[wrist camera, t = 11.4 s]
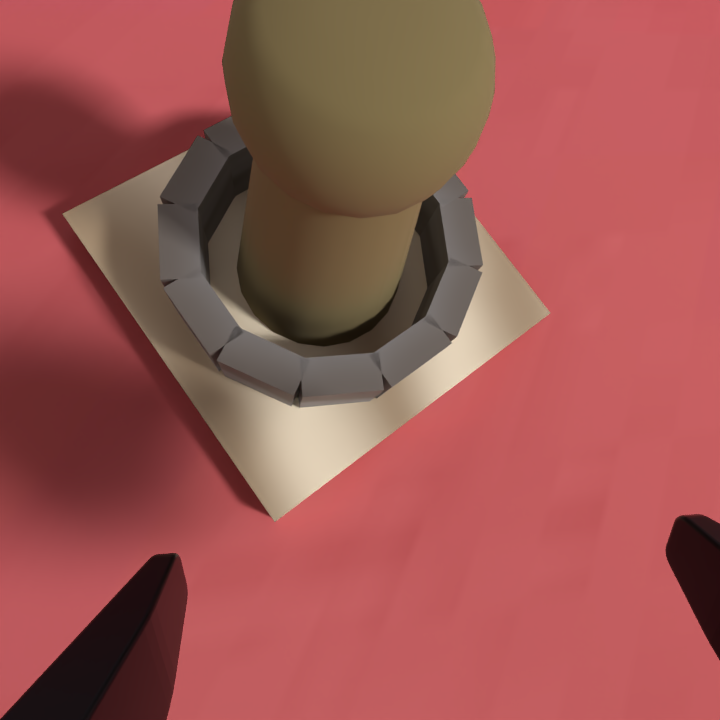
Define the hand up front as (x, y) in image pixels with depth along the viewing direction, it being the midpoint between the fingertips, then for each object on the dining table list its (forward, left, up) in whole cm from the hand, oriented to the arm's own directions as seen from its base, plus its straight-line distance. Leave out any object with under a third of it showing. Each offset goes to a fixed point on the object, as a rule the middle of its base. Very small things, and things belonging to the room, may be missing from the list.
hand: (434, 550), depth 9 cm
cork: (+4, +8, -9) cm, 12 cm away
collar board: (+4, +8, -10) cm, 13 cm away
